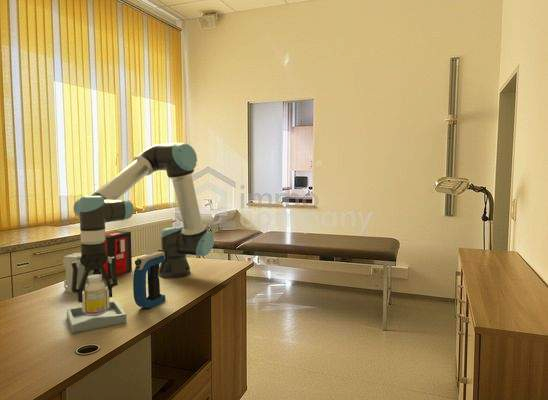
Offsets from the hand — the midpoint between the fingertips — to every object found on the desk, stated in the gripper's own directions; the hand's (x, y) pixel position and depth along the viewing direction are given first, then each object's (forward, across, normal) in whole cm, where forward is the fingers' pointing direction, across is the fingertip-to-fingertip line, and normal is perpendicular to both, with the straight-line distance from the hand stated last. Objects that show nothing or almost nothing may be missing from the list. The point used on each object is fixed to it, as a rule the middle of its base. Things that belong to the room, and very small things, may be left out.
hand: (95, 308), depth 127 cm
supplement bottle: (+2, 0, 0) cm, 2 cm away
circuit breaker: (+4, -2, -38) cm, 38 cm away
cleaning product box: (+4, -17, -57) cm, 59 cm away
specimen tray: (+4, 0, 0) cm, 4 cm away
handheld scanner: (+4, -20, -4) cm, 21 cm away
